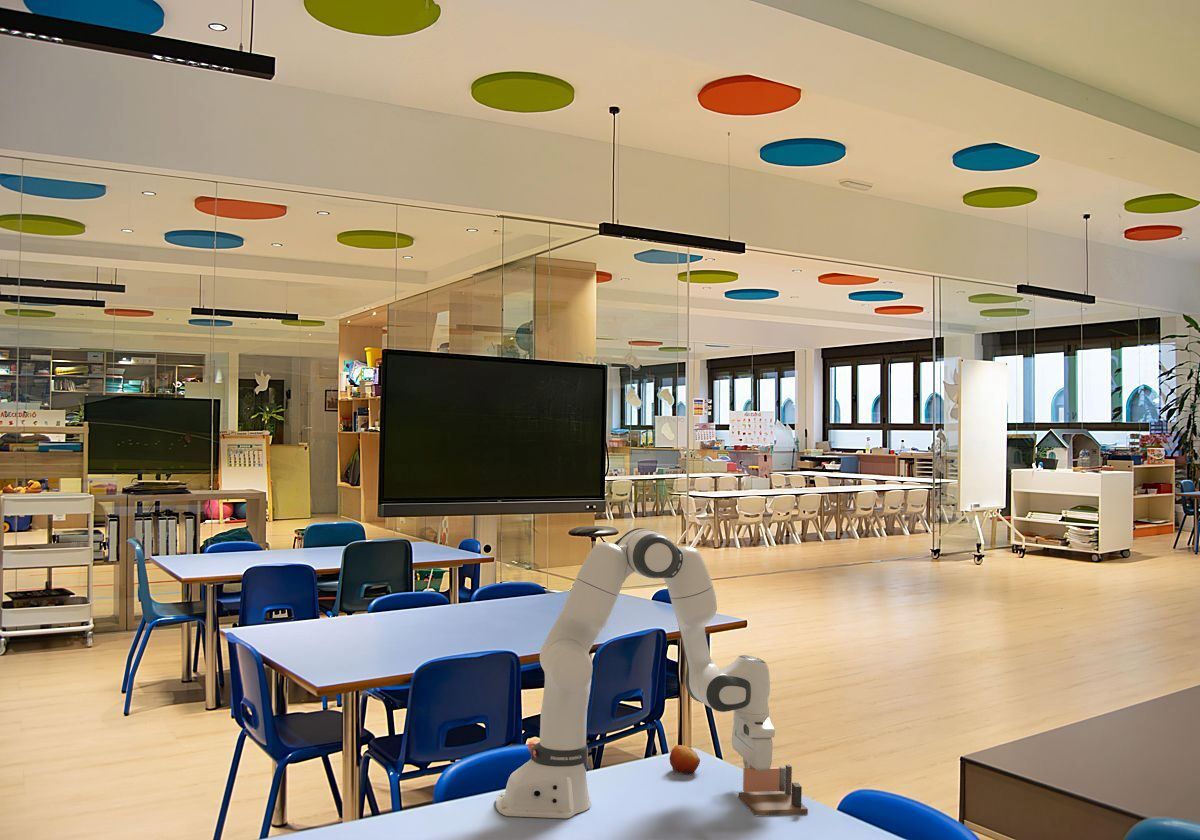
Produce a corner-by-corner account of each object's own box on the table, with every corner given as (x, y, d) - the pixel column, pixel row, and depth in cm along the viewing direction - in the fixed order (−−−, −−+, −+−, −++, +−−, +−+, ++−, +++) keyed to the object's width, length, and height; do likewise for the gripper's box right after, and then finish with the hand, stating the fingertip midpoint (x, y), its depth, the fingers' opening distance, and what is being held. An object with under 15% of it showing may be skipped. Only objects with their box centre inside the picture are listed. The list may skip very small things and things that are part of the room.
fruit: (660, 762, 259) (675, 736, 260) (684, 777, 259) (699, 751, 260) (665, 771, 251) (681, 745, 252) (690, 787, 251) (706, 760, 252)
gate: (744, 792, 235) (745, 769, 235) (742, 790, 236) (743, 767, 237) (785, 791, 236) (786, 768, 237) (783, 789, 238) (784, 766, 238)
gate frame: (755, 815, 225) (755, 780, 225) (738, 797, 237) (739, 764, 237) (807, 814, 227) (808, 779, 227) (788, 795, 239) (789, 763, 240)
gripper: (726, 711, 250) (725, 765, 249) (752, 732, 230) (751, 791, 229) (749, 711, 251) (748, 764, 250) (777, 732, 231) (776, 791, 230)
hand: (749, 777), depth 240 cm, fingers closed
